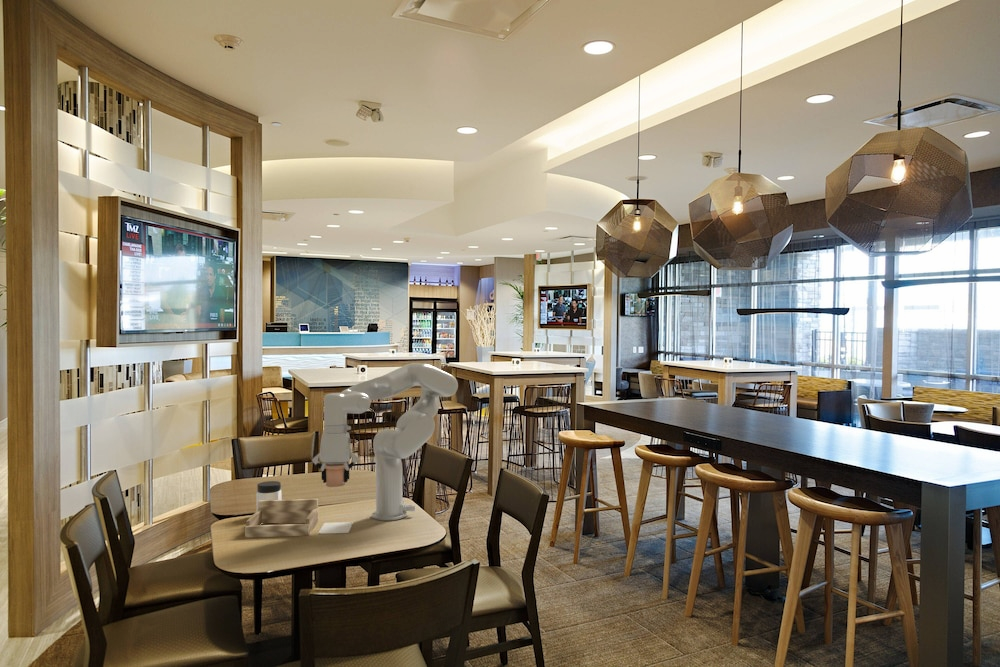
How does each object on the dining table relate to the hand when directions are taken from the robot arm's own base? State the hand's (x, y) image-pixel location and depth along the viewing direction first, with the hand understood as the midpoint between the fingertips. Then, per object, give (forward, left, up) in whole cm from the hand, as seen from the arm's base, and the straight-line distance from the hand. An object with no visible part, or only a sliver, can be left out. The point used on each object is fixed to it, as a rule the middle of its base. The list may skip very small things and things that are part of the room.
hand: (335, 481), depth 224 cm
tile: (0, 0, -16) cm, 16 cm away
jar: (+27, -18, -16) cm, 36 cm away
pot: (0, 0, -1) cm, 1 cm away
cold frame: (+18, -1, -16) cm, 24 cm away
